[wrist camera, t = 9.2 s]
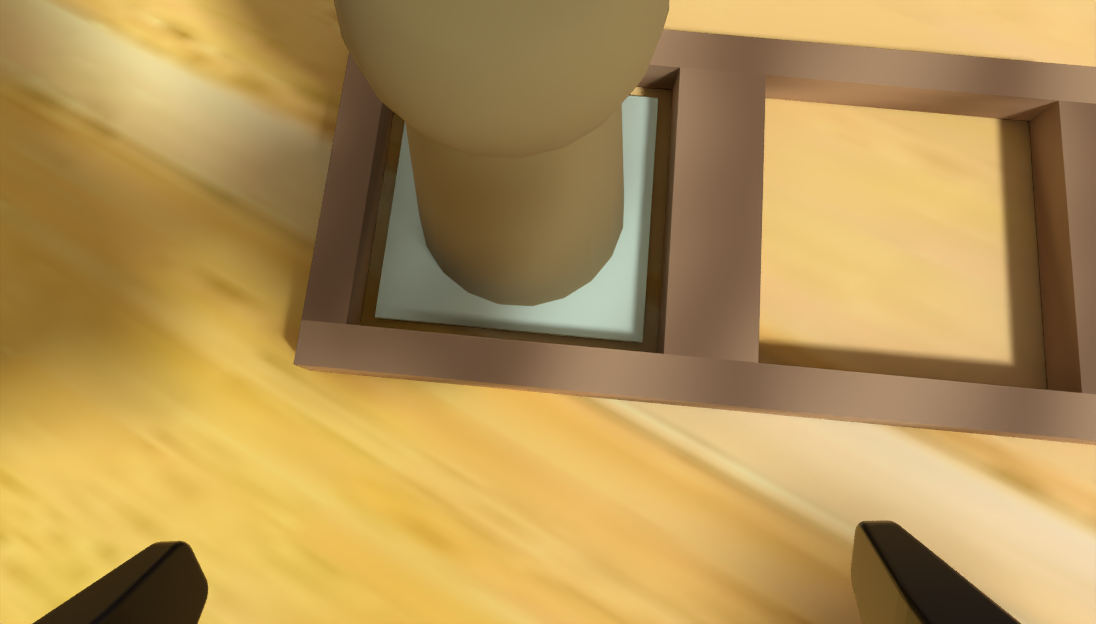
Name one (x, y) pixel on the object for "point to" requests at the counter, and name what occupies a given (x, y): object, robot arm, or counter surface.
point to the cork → (511, 129)
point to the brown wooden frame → (715, 248)
